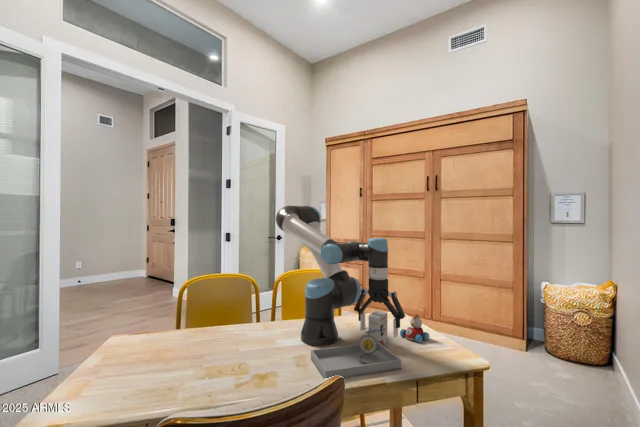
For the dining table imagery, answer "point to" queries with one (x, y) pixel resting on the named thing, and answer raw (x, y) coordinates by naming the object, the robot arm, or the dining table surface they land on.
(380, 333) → the ink box
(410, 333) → the toy car
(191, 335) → the dining table surface
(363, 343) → the pocket watch
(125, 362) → the dining table surface
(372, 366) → the tray
